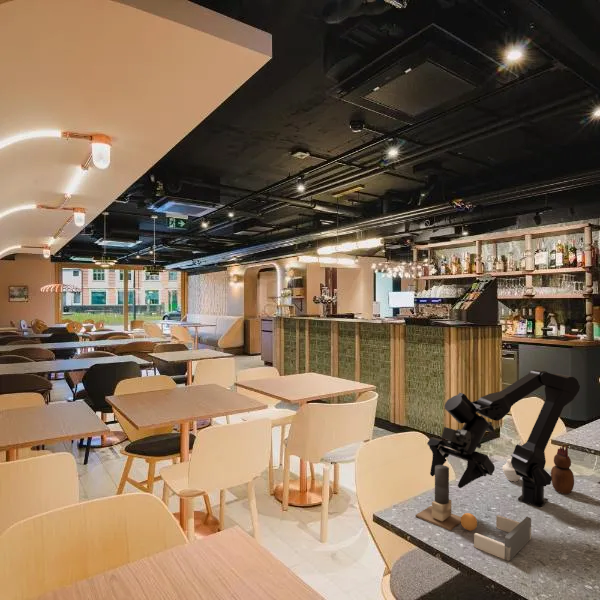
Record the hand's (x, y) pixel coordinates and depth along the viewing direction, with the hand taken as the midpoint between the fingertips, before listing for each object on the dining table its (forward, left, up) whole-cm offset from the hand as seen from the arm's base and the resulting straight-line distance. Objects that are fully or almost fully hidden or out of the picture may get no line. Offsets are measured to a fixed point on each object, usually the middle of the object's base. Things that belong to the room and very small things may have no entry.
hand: (444, 481), depth 118 cm
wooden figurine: (-43, +17, -10) cm, 47 cm away
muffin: (-41, +3, -10) cm, 42 cm away
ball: (+1, +7, -8) cm, 11 cm away
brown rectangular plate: (+1, 0, -10) cm, 10 cm away
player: (+1, 0, -10) cm, 10 cm away
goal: (+1, +16, -10) cm, 19 cm away
